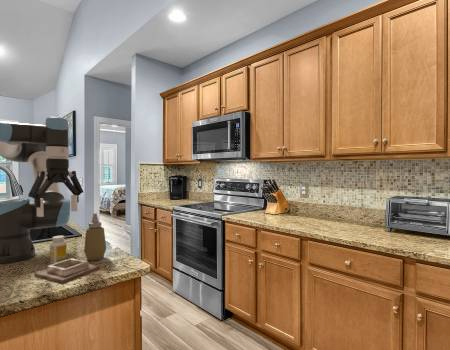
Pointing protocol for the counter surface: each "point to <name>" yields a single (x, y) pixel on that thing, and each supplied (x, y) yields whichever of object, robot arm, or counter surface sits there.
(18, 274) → the counter surface
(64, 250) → the supplement bottle
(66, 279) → the collar holder
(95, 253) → the squeeze bottle
